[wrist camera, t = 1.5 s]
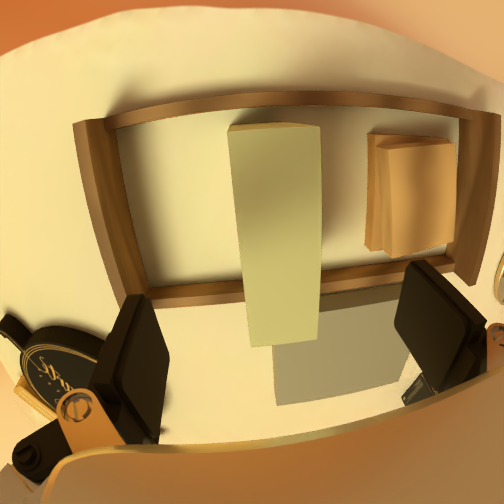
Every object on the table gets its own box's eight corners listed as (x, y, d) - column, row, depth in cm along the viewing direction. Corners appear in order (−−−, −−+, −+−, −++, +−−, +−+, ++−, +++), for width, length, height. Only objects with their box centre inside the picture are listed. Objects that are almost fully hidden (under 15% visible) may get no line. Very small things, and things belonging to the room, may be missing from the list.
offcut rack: (465, 109, 20) (500, 115, 16) (449, 261, 27) (475, 284, 23) (102, 120, 19) (72, 123, 15) (142, 297, 27) (128, 331, 22)
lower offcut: (436, 137, 22) (449, 140, 20) (428, 234, 26) (439, 242, 25) (364, 132, 22) (374, 135, 20) (362, 241, 26) (370, 251, 24)
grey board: (416, 280, 28) (427, 293, 26) (391, 368, 34) (398, 381, 32) (269, 301, 28) (272, 318, 25) (274, 390, 34) (276, 405, 32)
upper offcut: (441, 140, 20) (455, 143, 18) (441, 233, 24) (453, 241, 22) (375, 146, 20) (387, 149, 19) (381, 248, 24) (391, 258, 23)
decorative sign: (-23, 356, 27) (27, 283, 22) (-14, 343, 30) (42, 267, 25) (108, 457, 39) (210, 434, 34) (111, 443, 42) (211, 415, 37)
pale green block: (282, 121, 21) (319, 126, 12) (289, 262, 26) (316, 339, 17) (229, 125, 21) (227, 131, 12) (244, 266, 26) (250, 347, 17)
